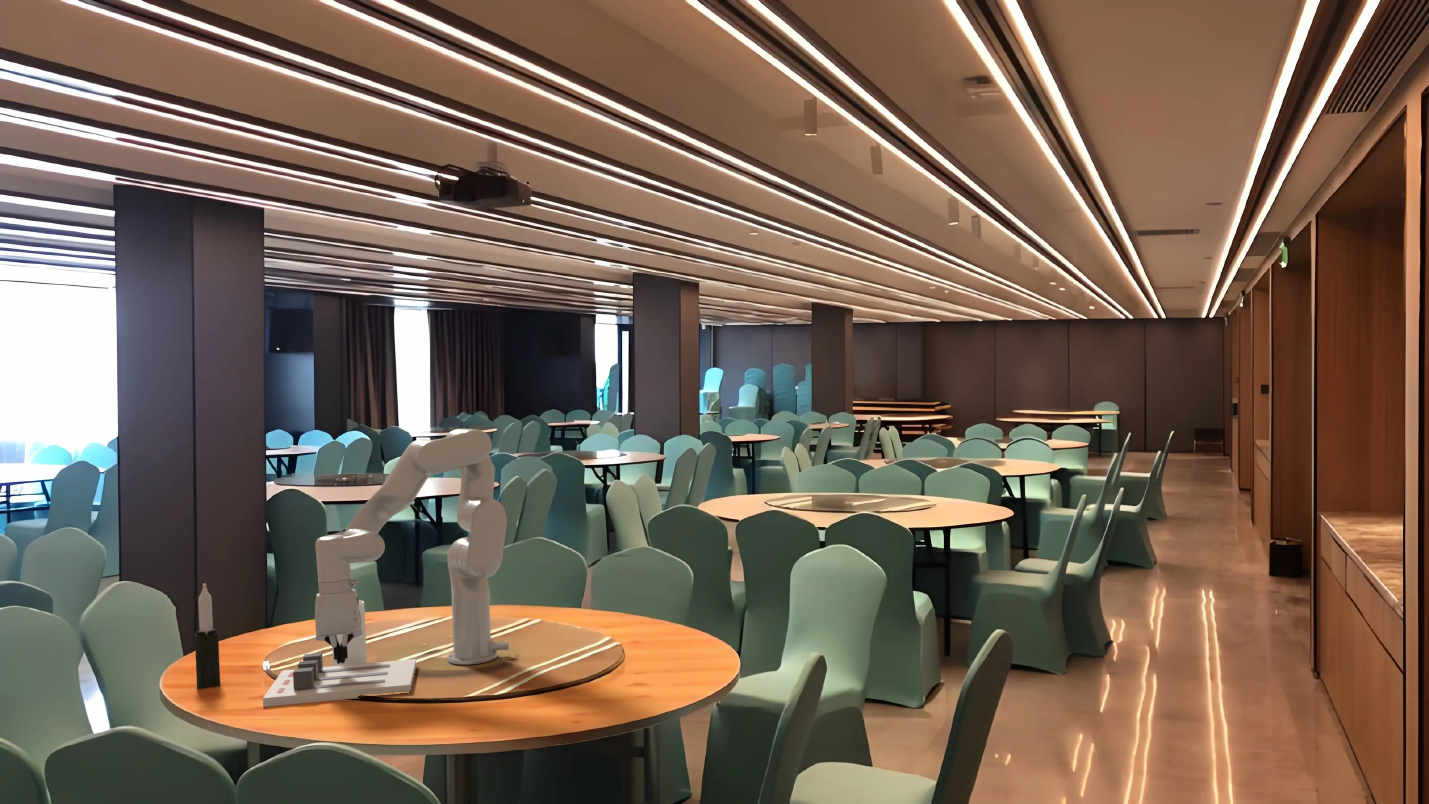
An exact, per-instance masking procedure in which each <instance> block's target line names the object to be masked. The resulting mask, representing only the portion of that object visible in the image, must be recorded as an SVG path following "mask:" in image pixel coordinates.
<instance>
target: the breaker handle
mask: <svg viewBox="0 0 1429 804" xmlns="http://www.w3.org/2000/svg"><path fill="white" fill-rule="evenodd" d="M312 667H313V670H314V680H317V678H318V660H311V661H303V660H302V661H299V663H298V664H297V669H300V668H312Z"/></svg>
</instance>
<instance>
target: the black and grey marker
mask: <svg viewBox="0 0 1429 804" xmlns="http://www.w3.org/2000/svg"><path fill="white" fill-rule="evenodd" d="M212 598H213V597H212V595H211V594H210V593H209V590H208V588H207V583H206V582H205V583H204V582H203V583H202V589H201V593H200V594H199V597H198V598H197V599H198V623H199V624H198V625H199V630H196V631H195V633H194V644H195V645H194V647H195V671H196V672H195V673H196V676H195V677H196V689H198V690H199V689H200V690H202V689H207V688H215V687H220V686H221V667H220V647H219V646H220V644H219V640H220V639H219V630H218V629H217V628H214V623H213V619H214V618H213V599H212Z"/></svg>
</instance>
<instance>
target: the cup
mask: <svg viewBox="0 0 1429 804" xmlns="http://www.w3.org/2000/svg"><path fill="white" fill-rule="evenodd" d="M358 601H359V607H360V614H361V628H362V631H363V633H362V635H361V636H358V637H355V638H352V640H351V641H350V642H349V643H348V644H347V651H348V658H346V659H345V662H344V663H340V664H337V660H334V651H333V647H332V646H331V648H332V666H333V665H334V666H341V665H353V664H364V663H366V662H367V659H368V658H367V636H366V612H365V611H366V610H365V601H364V600H359V599H358ZM342 635H343V634H338V635H336V636H337V640H338V642H339V644H340V645H341V643H342ZM367 663H368V662H367Z"/></svg>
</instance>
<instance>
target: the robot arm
mask: <svg viewBox="0 0 1429 804" xmlns="http://www.w3.org/2000/svg"><path fill="white" fill-rule="evenodd" d="M492 446H493V443H492V440H491V437H490V436H489V434H487V433H486V432H485V431H483V430H481V429H478V428H477V429H476V428H456V429H453V430H451V431H449V432H448V433H447V434H446V436H445V437H443V438H437V439H416V440H414V441H412V442H410V443H409V445H407V447H406V449H405V450H404V451H403V452H402V454H401V456H400V457H399V459H398V461H397V462H396V463H395V465H394V467H393V468H392V469H391V472H390V473H389V474H388V476H387V477H386V479H385V480H384V482H383V483H382V485H381V486H380V488H378V490H377V491H376V492H375V493H373V494H372V496H371V497H370V498H369V499H368V500H367V501H366V502H365V503H364V504H363V505H362V506H361V508H360V509H359V510H357V513H356V514H355V516H354V517H353V519H352V520H351V522H350V523H349V525H348V526H347V528H346V529H345V531H344V533H343V534H329V535H324V536H321V537H319V538H317V539H316V541H315V555H316V568H317V581H318V583H317V584H318V593H316V597H315V610H314V611H315V613H314V617H315V618H314V619H315V621H314V622H315V625H314V626H315V632H316V634H315V640H316V641H317V642H319V641H320V642H326V643H327V644H328V645H330V647H331V648H332V647H333V651H334V660H337V664H340V663H344V662H345V659H346V658H348V651H347V644H348V643H349V642H350V641H351V640H352V638H355V637H358V636H361V635H362V633H363V631H362V628H361V614H360V607H359V601H358V600H359V597H358V593H357V590H356V588H354V587H355V586H359V579H354V578H353V577H352V569H351V568H352V567H351V564H355V563H356V564H358V563H359V564H360V563H363V564H365V563H372V562H375V561H377V560H378V559H379V558H381V557H382V555H383V554H384V552H385V550H386V548H385V547H386V545H385V541H384V538H383V537H381V535H380V534H379V532H380V531H381V529H382V528H383V527H384V525H385V524H386V523H387V522H388V521H390V519H392V518H393V517H394V516H396V515H397V514H399V513H401V512H403V511H404V510H406V509H407V508H408V507H410V506H411V505H412V504H413V502H415V501H414V500H415V499H416V498H417V496H418V494H419V493H420V492H421V490H422V488H423V486H424V485H425V483H426V482H427V481H428V479H429V478H430V475H438V474H443V473H447V472H452V471H454V470H459V472H460V489H459V498H458V506H457V511H456V521H457V524H458V526H459V527H460V528H461V529H462V530H464V531H466V532H468V533H469V537H468V536H466V537H465V536H464V537H461V538H459V539H457V540H454V542H453V543H452V544H451V546H450V547H449V548H448V552H447V556H446V557H447V569H448V572H449V574H448V575H449V580H450V587H451V588H450V589H451V590H450V591H451V614H452V619H451V620H452V639H453V640H452V642H453V643H452V644H453V645H452V646H453V652H452V653H450V654H448V655H447V662H449V663H450V664H453V665H454V664H455V665H460V666H461V665H463V666H464V665H477V664H482V663H483V664H484V663H487V662H491V661H494V660H495V659H496V658H498V652H497V651H507V650H510V649H509V642H508V641H507V642H506V641H505V642H504V641H498V642H497V641H493V637H492V636H491V614H490V613H491V612H490V611H491V610H490V609H491V608H490V607H491V606H490V588H489V580H488V579H489V578H491V577H493V576H494V575H495V574H496V573H497V572H498V570H499V569H500V567H501V564H502V561H503V556H504V555H503V554H504V549H505V541H506V540H505V539H506V533H507V524H508V522H507V521H508V519H507V517H508V516H507V512H506V510H505V508H504V506H503V504H501V502H499V501H498V500H497V499H494V490H495V489H494V487H495V469H494V464H493V462H492V459H491V457H490V454H491V453H492V448H493V447H492ZM338 634H343V635H342V643H341V645H340V644H339V642H338V640H337V636H336V635H338ZM333 651H332V652H333Z"/></svg>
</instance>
